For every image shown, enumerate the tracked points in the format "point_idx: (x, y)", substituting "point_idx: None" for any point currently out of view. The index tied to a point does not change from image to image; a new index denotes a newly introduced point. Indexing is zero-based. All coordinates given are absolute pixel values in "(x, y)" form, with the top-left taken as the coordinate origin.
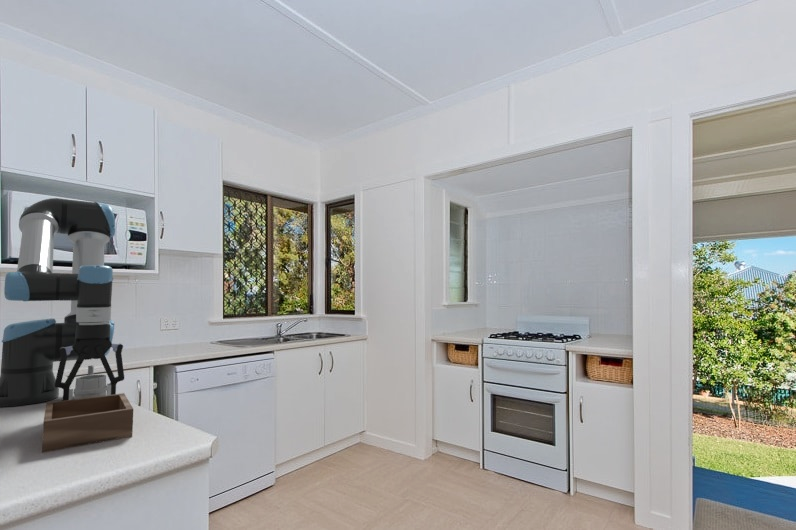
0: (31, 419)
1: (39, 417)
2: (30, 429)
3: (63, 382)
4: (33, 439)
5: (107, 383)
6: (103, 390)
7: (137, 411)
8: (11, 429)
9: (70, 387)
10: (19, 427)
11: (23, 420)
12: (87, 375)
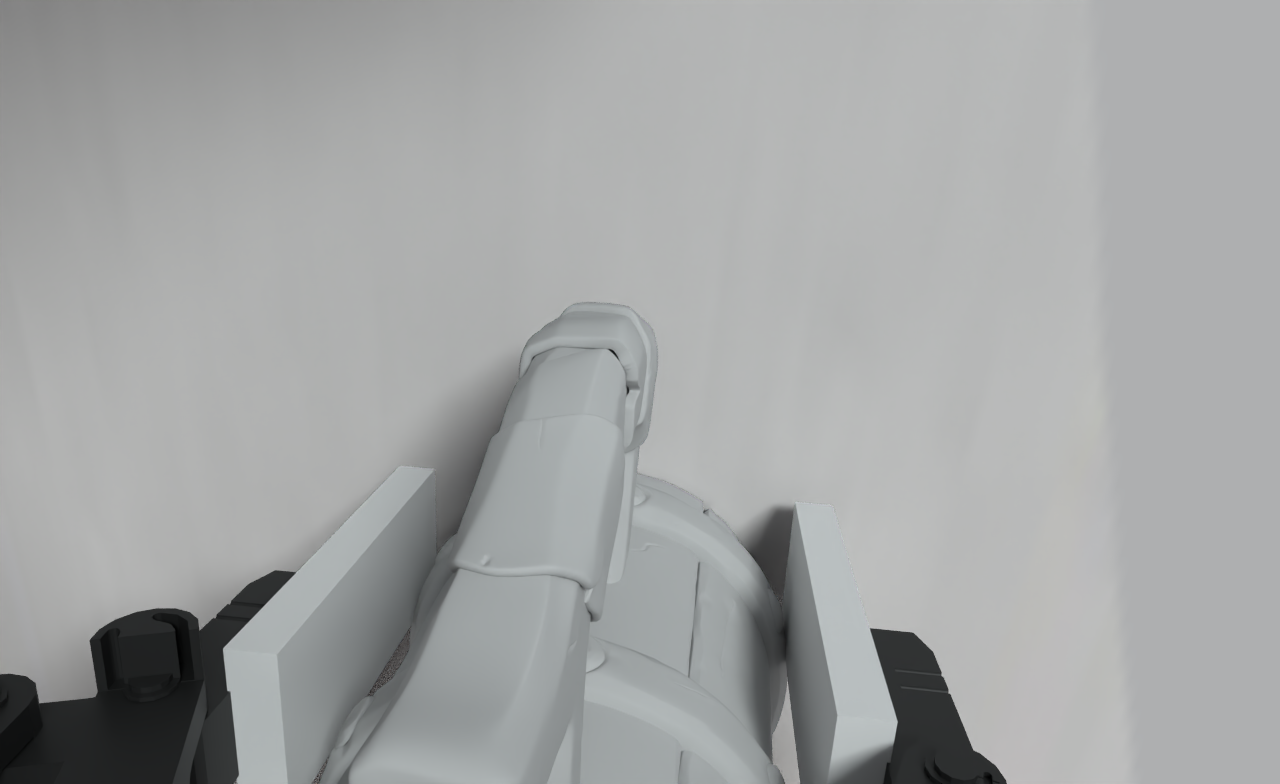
0: (87, 365)
1: (147, 325)
2: None
3: (57, 770)
4: None
5: (843, 727)
6: None
7: (1056, 771)
8: (4, 640)
9: (243, 670)
10: (51, 617)
11: (20, 354)
12: (454, 569)
